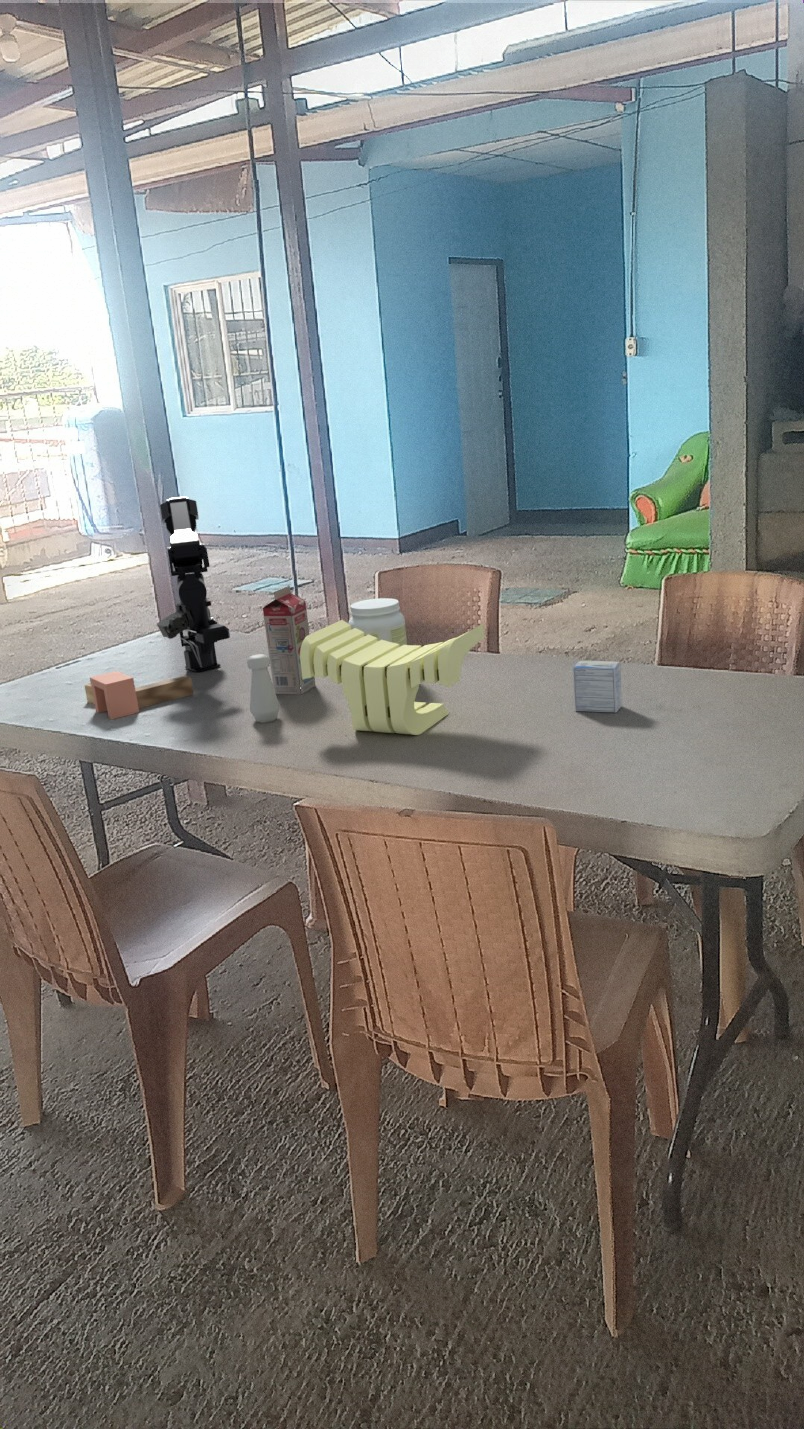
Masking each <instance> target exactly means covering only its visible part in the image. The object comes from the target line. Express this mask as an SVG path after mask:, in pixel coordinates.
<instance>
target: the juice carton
mask: <svg viewBox="0 0 804 1429" xmlns="http://www.w3.org/2000/svg"><path fill="white" fill-rule="evenodd" d="M273 597H274V600H272V601H271V602H269V603H267V604H266V605H264V606H263V607H262V614H263V620H264V628H265V635H266V636H265V637H266V643H267V651H268V657H269V660H270V665H269V666H270V673H271V675H270V676H271V681H272V684H273V687H274V690H275V693H276V695H303V694H304V693H307V692H308V691H310V690H311V689H313V688H314V687H315V685H316V679H315V678H316V677H315V676H313V677H311V678H306V679H302V670H301V662H300V649H301V645H302V642H303V640H304V639H305V637H306V636H308V635H310V627H309V619H308V612H307V610H308V609H307V602H306V600H305V599H303V598H302V597H300V596H297V595H296V594H294V593H292V591H291V585H288V586H285V587H282V588H280V589H278V590H275V591H274V592H273ZM300 687H301V689H300Z"/></svg>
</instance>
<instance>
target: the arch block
mask: <svg viewBox="0 0 804 1429" xmlns="http://www.w3.org/2000/svg"><path fill="white" fill-rule="evenodd" d="M89 680H90V681H89V682H90V683H91V688H92V693H93V698H94V703H93V704H94V708H95V712H97V713H100V714H101V713H105V712H107V715H108V719H109V720H110V719H111V720H114V719H119V718H122V717H126V716H130V715H133V714H138V713H139V712H140V708H138V703H137V697H136V691H135V688H136V686H135V680H134V677H132V676H130V675H127V674H125V673H122V672H120V671H117V670H114V671H110V672H106V673H102V674H98V675H94V676H89Z"/></svg>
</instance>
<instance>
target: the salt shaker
mask: <svg viewBox="0 0 804 1429" xmlns="http://www.w3.org/2000/svg"><path fill="white" fill-rule="evenodd" d="M246 661H247V662H246V664H247V668H248V669H249V670H251V679H250V680H251V681H250V683H251V684H250V697H249V698H250V699H249V711H250V714H251V715H252V716H253V718H254V720H255V721H256V723H262V724H265V723H270V722H271V723H272V722H274V721H275V720H276V719H278V715H279V712H280V708H281V707H280V703H279V698H278V697H277V694H276V693H275V690H274V687H273V683H272V676H271V675H270V671H269V669H268V667H269V666H270V660H269V655H266V654H263V653H260V654H259V653H258V654H253V655H251V656H249V657H248V658H247V660H246Z"/></svg>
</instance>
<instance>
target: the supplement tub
mask: <svg viewBox="0 0 804 1429" xmlns="http://www.w3.org/2000/svg"><path fill="white" fill-rule="evenodd" d="M349 608H350V615H351V617H350V618H349V620H348V622H347V623H348V624H350V625H351V630H352V629H354V628H357V629H359V630H361V631H363V632H364V636H366V635H368V634H369V635H371V636H374V637H376V638H377V640H378V641H380V640H385V641H388V642H392V643H397V644H399V646H400V647H401V646H402V645H408V642H407V641H408V640H407V632H406V630H407V629H406V620H405V617H404V615H403V613H401V611H400V610H401V606H400V602H399V600H398V599H396V598H387V597H382V598H381V597H380V598H371V599H365V600H358V601H356V602H354V603H351V604H350V606H349Z"/></svg>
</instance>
